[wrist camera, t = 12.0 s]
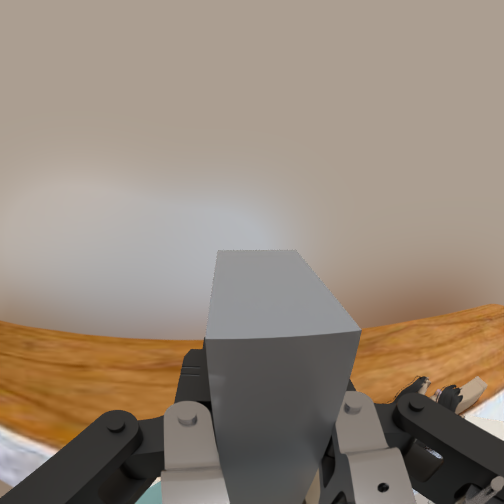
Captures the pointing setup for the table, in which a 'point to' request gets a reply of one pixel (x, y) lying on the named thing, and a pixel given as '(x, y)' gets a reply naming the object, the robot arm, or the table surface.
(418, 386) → the toy figure
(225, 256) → the grey rectangular block
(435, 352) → the table surface
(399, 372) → the table surface
